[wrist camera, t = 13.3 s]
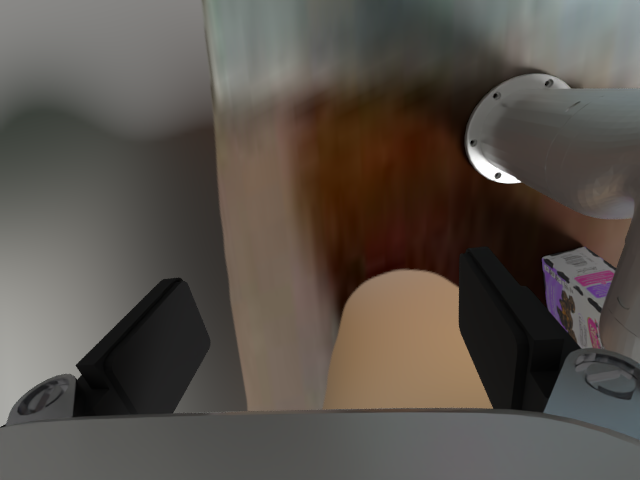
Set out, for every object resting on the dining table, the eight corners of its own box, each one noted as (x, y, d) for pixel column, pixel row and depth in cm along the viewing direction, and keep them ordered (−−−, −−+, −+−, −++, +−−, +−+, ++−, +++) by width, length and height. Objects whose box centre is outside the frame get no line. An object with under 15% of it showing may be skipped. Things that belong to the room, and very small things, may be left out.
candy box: (539, 256, 46) (628, 335, 31) (585, 244, 45) (700, 322, 30) (547, 327, 51) (626, 424, 36) (588, 319, 50) (688, 417, 35)
